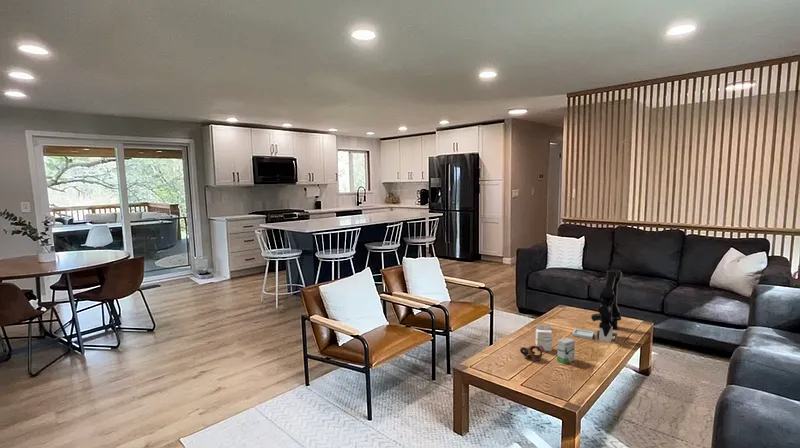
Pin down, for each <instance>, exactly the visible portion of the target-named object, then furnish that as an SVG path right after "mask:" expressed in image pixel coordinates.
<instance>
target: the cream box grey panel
mask: <svg viewBox="0 0 800 448" xmlns="http://www.w3.org/2000/svg"><path fill="white" fill-rule="evenodd" d="M598 328H599V329H598V331H599V334H598V341H599V340H603V341H609V342H611V341H612V342H613V336H612V334H613V333H614V332H613V331H614V329H613V326H611V329H610V331H609V333H608V334H607V336H606V337H605V336H604V332H603V329H602V328H600V327H599V326H598Z"/></svg>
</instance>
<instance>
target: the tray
mask: <svg viewBox="0 0 800 448" xmlns="http://www.w3.org/2000/svg"><path fill="white" fill-rule="evenodd" d="M571 335H572V337H577V338H580V339H581V338H582V339H588V340H593V338H594V337H595V331H593V330H587V329H586V330H585V329H581V328H574V329H573V332H572V334H571Z"/></svg>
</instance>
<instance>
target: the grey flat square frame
mask: <svg viewBox="0 0 800 448" xmlns="http://www.w3.org/2000/svg"><path fill="white" fill-rule="evenodd" d="M614 336H615V337H614ZM598 337H599V329H597V330H596V332H595V334H594V341H600V342H605V343H612V344H616V343H617V338H618V333H615V332H613V334H612V337H614V339H613V341H612V342H611V341H605V340H599V338H598ZM597 338H598V339H597Z"/></svg>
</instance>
